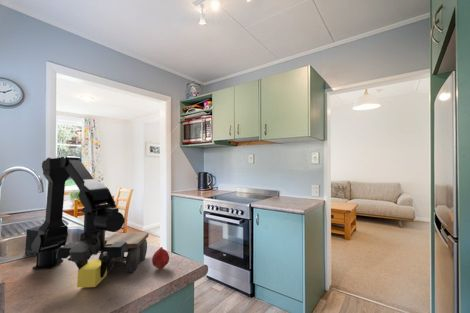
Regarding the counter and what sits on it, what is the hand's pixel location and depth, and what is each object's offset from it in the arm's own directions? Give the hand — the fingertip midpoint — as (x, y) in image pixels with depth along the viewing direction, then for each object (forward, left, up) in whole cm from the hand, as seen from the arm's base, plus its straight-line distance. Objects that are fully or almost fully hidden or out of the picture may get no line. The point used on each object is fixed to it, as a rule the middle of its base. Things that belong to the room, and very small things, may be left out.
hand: (93, 277), depth 68 cm
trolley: (+5, +12, -2) cm, 13 cm away
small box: (-35, +28, -2) cm, 45 cm away
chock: (0, 0, -1) cm, 1 cm away
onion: (+19, +8, -2) cm, 20 cm away
